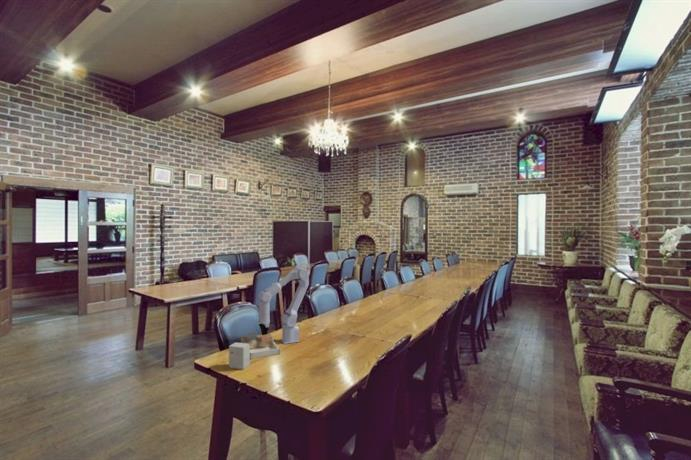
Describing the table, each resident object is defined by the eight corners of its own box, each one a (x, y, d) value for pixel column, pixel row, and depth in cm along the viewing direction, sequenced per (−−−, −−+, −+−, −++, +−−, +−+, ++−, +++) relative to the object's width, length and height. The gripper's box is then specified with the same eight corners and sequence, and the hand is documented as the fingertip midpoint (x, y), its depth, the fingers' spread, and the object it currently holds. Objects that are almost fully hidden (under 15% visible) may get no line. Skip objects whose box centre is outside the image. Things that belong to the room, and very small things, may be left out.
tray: (273, 346, 186) (273, 341, 186) (279, 354, 176) (279, 348, 176) (245, 351, 179) (245, 345, 179) (249, 359, 168) (249, 353, 168)
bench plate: (268, 340, 197) (268, 333, 197) (274, 346, 187) (274, 339, 187) (240, 344, 190) (240, 337, 190) (244, 351, 179) (244, 343, 179)
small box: (249, 365, 161) (250, 343, 161) (243, 369, 156) (243, 347, 156) (235, 363, 164) (235, 341, 164) (228, 367, 158) (228, 345, 158)
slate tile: (254, 337, 190) (254, 332, 190) (256, 339, 186) (256, 335, 186) (245, 338, 188) (245, 334, 188) (247, 341, 183) (247, 336, 183)
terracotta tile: (269, 338, 188) (269, 334, 188) (271, 341, 184) (271, 336, 184) (260, 339, 186) (260, 335, 186) (261, 342, 182) (261, 338, 182)
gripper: (254, 310, 193) (254, 334, 193) (260, 316, 180) (260, 341, 180) (266, 309, 196) (266, 332, 196) (273, 315, 183) (272, 339, 183)
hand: (264, 336), depth 188 cm, fingers closed
